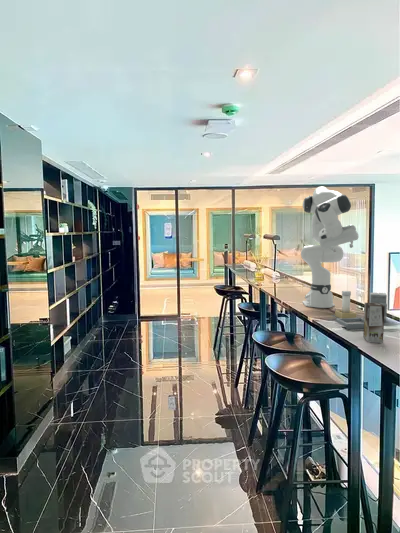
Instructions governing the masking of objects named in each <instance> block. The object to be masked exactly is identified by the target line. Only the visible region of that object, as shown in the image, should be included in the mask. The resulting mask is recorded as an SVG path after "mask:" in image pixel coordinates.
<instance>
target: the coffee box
mask: <svg viewBox="0 0 400 533" xmlns="http://www.w3.org/2000/svg"><path fill="white" fill-rule="evenodd" d="M363 310H364V313H363V319H364V330H363V338H364V339H365V340H366V341H367V342H368V343H379V344H383V343H384V332H385V331H384V330H385V327H384V326H385V321H384V313H385V306H384V305H382V304H380V303H370V302H364V309H363Z"/></svg>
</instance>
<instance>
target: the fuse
mask: <svg viewBox="0 0 400 533" xmlns="http://www.w3.org/2000/svg"><path fill="white" fill-rule="evenodd" d="M351 293H352V292H351V291H350V290H342V291H341V295H342V296H341V299H342V300H341V310H342V313H350V311H351V295H352V294H351Z"/></svg>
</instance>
